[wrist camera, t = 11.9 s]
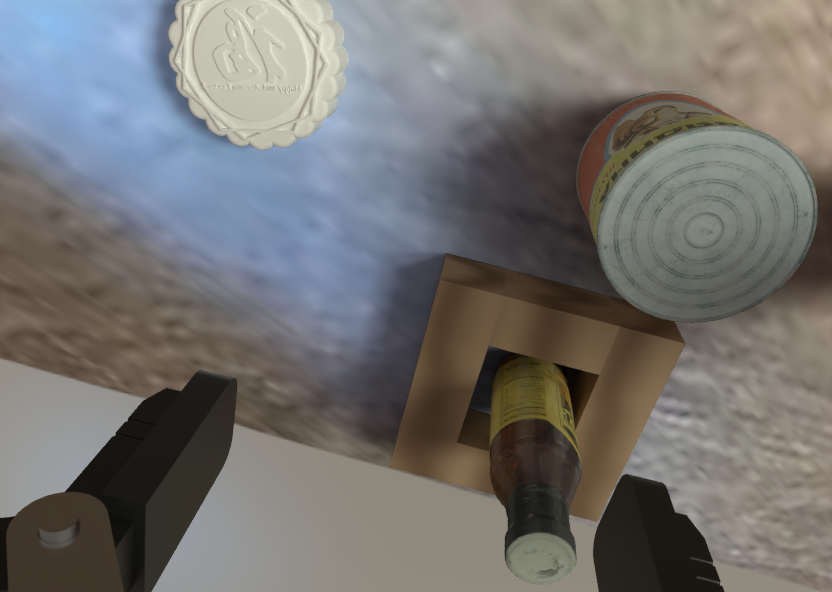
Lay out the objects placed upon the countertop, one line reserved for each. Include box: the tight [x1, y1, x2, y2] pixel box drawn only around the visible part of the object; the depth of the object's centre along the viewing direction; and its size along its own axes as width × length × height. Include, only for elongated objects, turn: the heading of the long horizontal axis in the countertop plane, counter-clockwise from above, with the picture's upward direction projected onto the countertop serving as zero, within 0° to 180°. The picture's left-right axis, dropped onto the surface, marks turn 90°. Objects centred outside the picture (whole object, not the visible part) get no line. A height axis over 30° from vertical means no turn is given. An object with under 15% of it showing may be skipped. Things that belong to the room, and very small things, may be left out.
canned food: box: [576, 91, 818, 323], centre depth 40 cm, size 11×11×12 cm
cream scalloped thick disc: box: [168, 0, 349, 150], centre depth 44 cm, size 12×12×4 cm
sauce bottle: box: [489, 353, 582, 585], centre depth 45 cm, size 6×6×20 cm
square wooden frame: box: [390, 253, 685, 522], centre depth 51 cm, size 18×18×5 cm
